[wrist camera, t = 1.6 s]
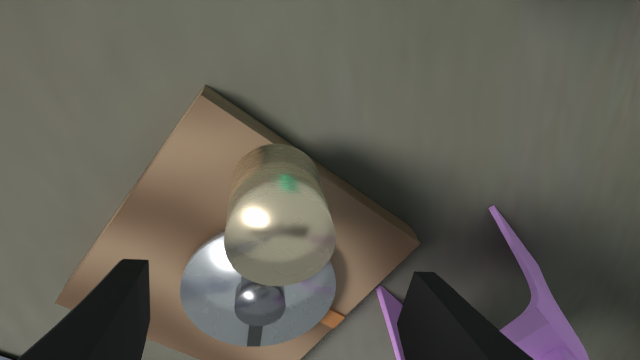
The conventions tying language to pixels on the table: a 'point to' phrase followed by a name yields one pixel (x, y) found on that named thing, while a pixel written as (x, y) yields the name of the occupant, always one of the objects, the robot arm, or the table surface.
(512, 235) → the chair
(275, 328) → the crank dial
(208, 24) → the table surface
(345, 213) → the stand
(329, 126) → the table surface
